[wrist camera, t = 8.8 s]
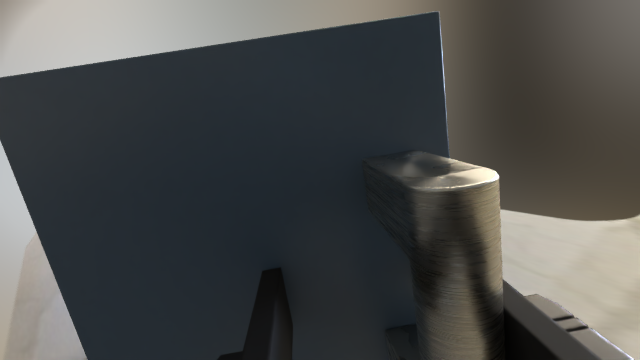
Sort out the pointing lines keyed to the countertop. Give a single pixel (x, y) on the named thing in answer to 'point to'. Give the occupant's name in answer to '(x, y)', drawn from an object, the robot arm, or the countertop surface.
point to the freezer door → (262, 197)
